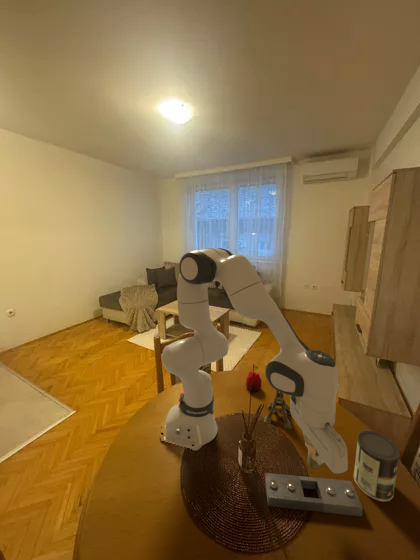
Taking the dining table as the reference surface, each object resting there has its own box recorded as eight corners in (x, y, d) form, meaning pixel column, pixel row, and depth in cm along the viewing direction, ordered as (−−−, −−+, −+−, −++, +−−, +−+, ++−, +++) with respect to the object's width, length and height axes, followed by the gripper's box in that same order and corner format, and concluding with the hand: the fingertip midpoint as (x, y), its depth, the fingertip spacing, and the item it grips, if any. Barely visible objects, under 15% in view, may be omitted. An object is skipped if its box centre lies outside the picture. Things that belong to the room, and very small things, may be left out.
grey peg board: (268, 505, 67) (268, 495, 66) (265, 480, 74) (265, 471, 73) (361, 516, 64) (363, 505, 63) (349, 489, 71) (351, 479, 70)
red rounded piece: (262, 386, 119) (262, 358, 116) (260, 394, 113) (260, 366, 110) (247, 383, 122) (247, 356, 119) (244, 391, 116) (244, 363, 113)
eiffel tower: (291, 429, 93) (293, 371, 88) (263, 422, 97) (265, 366, 92) (292, 410, 103) (295, 357, 98) (267, 404, 106) (269, 353, 102)
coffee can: (391, 477, 74) (397, 438, 71) (395, 509, 65) (402, 467, 63) (353, 461, 79) (357, 425, 77) (352, 489, 71) (357, 449, 68)
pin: (303, 464, 66) (304, 439, 65) (309, 454, 69) (310, 430, 68) (318, 473, 64) (319, 448, 62) (323, 463, 67) (325, 438, 65)
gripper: (357, 440, 54) (352, 490, 56) (305, 385, 74) (303, 424, 76) (333, 445, 53) (329, 496, 55) (286, 388, 73) (285, 428, 75)
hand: (313, 454), depth 66 cm, fingers closed on pin, 3 cm apart
